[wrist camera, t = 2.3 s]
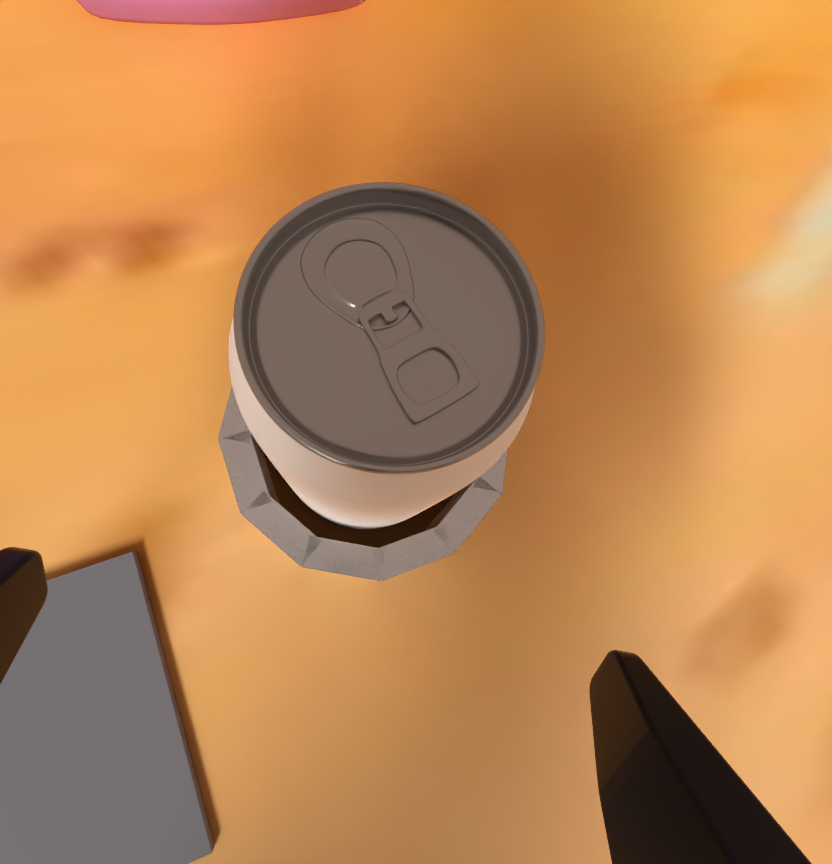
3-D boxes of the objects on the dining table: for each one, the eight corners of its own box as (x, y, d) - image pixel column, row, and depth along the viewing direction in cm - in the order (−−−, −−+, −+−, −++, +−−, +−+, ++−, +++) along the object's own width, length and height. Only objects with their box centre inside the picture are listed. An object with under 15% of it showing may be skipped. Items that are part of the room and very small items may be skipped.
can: (392, 341, 22) (445, 112, 11) (478, 473, 22) (635, 380, 10) (251, 419, 21) (136, 251, 9) (338, 564, 20) (331, 577, 9)
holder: (521, 521, 21) (549, 516, 19) (283, 612, 20) (273, 622, 17) (437, 306, 23) (451, 270, 20) (209, 371, 21) (188, 341, 18)
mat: (214, 846, 18) (211, 852, 17) (-131, 1002, 16) (-143, 1013, 15) (136, 551, 19) (132, 551, 19) (-186, 660, 17) (-197, 663, 17)
